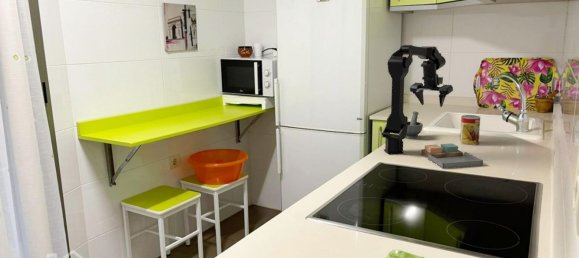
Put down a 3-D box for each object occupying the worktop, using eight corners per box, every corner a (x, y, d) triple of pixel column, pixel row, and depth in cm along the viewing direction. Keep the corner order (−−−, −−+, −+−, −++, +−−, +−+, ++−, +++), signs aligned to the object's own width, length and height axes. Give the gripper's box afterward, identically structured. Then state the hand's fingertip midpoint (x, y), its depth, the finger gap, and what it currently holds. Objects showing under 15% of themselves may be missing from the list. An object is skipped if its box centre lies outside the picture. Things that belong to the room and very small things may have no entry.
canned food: (480, 145, 197) (482, 118, 194) (461, 144, 198) (462, 118, 196) (476, 140, 204) (478, 115, 202) (458, 140, 206) (459, 114, 203)
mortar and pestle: (417, 141, 207) (418, 115, 204) (398, 138, 212) (398, 113, 209) (425, 136, 216) (426, 111, 213) (406, 133, 221) (406, 109, 218)
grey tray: (442, 168, 167) (442, 163, 166) (427, 159, 178) (428, 154, 178) (482, 165, 169) (482, 160, 169) (465, 156, 181) (465, 151, 180)
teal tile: (446, 152, 181) (446, 147, 181) (440, 148, 186) (440, 144, 186) (457, 151, 182) (458, 146, 182) (451, 148, 187) (452, 143, 187)
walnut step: (429, 159, 179) (430, 154, 178) (421, 153, 186) (421, 149, 186) (462, 156, 181) (462, 152, 180) (452, 151, 188) (452, 147, 188)
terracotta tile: (430, 153, 180) (430, 148, 180) (424, 150, 185) (424, 145, 185) (441, 152, 181) (442, 147, 181) (435, 149, 186) (436, 144, 185)
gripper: (457, 69, 202) (459, 101, 208) (419, 67, 215) (421, 98, 221) (446, 77, 195) (448, 110, 201) (407, 74, 208) (410, 106, 214)
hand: (432, 105), depth 209 cm, fingers open, 9 cm apart
